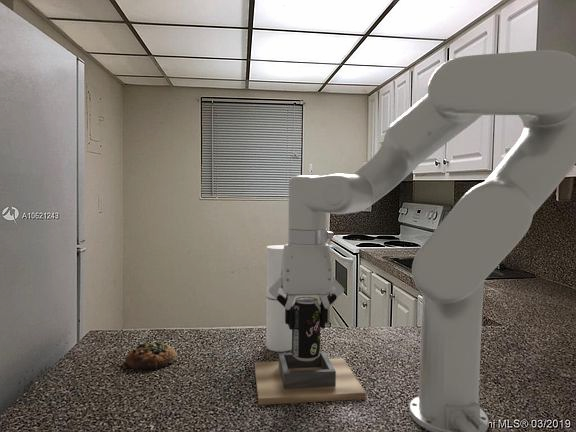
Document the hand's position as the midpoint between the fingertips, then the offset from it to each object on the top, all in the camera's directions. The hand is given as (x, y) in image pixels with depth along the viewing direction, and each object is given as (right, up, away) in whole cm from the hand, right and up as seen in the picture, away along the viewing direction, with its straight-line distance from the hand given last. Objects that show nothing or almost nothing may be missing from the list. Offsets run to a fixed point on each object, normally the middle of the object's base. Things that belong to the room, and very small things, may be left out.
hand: (306, 325), depth 83 cm
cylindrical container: (-6, -11, +20) cm, 23 cm away
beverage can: (0, -7, 0) cm, 7 cm away
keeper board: (0, -12, +1) cm, 12 cm away
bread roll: (-35, -11, +11) cm, 38 cm away
